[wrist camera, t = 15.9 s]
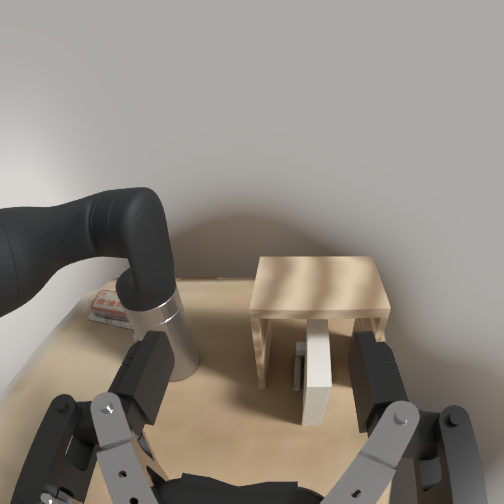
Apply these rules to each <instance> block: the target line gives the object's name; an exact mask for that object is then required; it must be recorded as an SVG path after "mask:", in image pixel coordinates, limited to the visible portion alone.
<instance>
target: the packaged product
mask: <svg viewBox="0 0 504 504" xmlns="http://www.w3.org/2000/svg"><path fill="white" fill-rule="evenodd" d="M91 309H92V312H91V313H90V314H89V316H88V317H87V318H88V319H89V320H92V321H97V322H101V323H105V324H109V325H113V326H117V327H122V328H128V329H132V327H131V324H130V322H129V320H128V318H127V316H126V314H125V312H124V309H123V307H122V305H121V303H120V300H119V298H118V296H117V293H116V292H115V291H108V290H102V291H99V292H98V293H97V295H96V297H95V300H94V301H93V303H92V306H91Z"/></svg>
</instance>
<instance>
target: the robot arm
mask: <svg viewBox="0 0 504 504" xmlns="http://www.w3.org/2000/svg"><path fill="white" fill-rule="evenodd" d="M102 256H103V257H104V256H105V257H118V258H128V261H129V264H130V268H128V269H127V270H126V271H125V272H123V274H122V275H121V276H120V277H119V278H118V280H117V282H116V293H117V296H118V298H119V300H120V303H121V305H122V307H123V309H124V312H125V314H126V316H127V318H128V320H129V322H130V324H131V327H132V329H133V331H134V334H133V337H132V338H133V340H134V342H135V344H134V345H133V346H132V347H131V348H130V349H129V351H128V353H127V355H126V358H125V359H124V360H123V362H122V366H120V368H119V370H118V372H117V374H116V376H115V378H114V380H113V382H112V384H111V386H110V388H109V390H108V392H106V393H102V394H99V395H98V396H96V397H95V398H94V399H93V401H86V402H76V401H75V400H74V399H73V398H72V397H71V396H70V395H67V394H62V395H59V396H57V397H56V398H54V399H53V401H52V402H51V404H50V406H49V408H48V410H47V412H46V414H45V417H44V419H43V421H42V423H41V425H40V427H39V429H38V432H37V434H36V436H35V438H34V441H33V443H32V445H31V448H30V450H29V453H28V455H27V458H26V460H25V463H24V465H23V468H22V470H21V473H20V476H19V479H18V481H17V484H16V487H15V490H14V493H13V496H12V499H11V503H10V504H84V502H85V498H86V495H87V491H88V488H89V484H90V481H91V477H92V474H93V471H94V468H95V464H96V461H97V458H98V462H99V465H100V468H101V471H102V474H103V477H104V480H105V483H106V486H107V488H108V491H109V494H110V496H111V499H112V501H113V504H376V502H377V501H378V500H379V498H380V497H381V495H382V493H383V492H384V490H385V489H386V487H387V486H388V484H389V482H390V481H391V479H392V477H393V475H394V474H395V471H396V466H397V464H398V462H399V460H400V458H413V460H414V468H415V477H416V487H417V499H418V504H488V501H487V494H486V487H485V481H484V475H483V471H482V465H481V460H480V456H479V452H478V447H477V444H476V440H475V436H474V432H473V429H472V425H471V421H470V418H469V415H468V413H467V412H466V410H465V409H463V408H462V407H460V406H456V405H453V406H449V407H447V408H445V409H444V410H443V411H442V412H441V413H436V412H424V411H420V410H418V409H417V408H416V407H415V406H414V405H413V404H412V403H410V402H409V401H408V398H407V395H406V392H405V389H404V386H403V382H402V379H401V376H400V373H399V370H398V367H397V364H396V362H395V358H394V355H393V352H392V350H391V349H390V347H389V346H388V345H387V344H386V343H385V342H376V339H375V336H374V333H373V331H372V330H370V331H358V332H354V335H353V340H352V344H351V349H350V353H349V360H348V365H349V373H350V378H351V383H352V389H353V395H354V401H355V407H356V413H357V419H358V426H359V433H364V432H367V433H368V440H367V442H366V443H365V445H364V446H363V448H362V449H361V451H360V452H359V453H358V455H357V456H356V458H355V459H354V461H353V462H352V463H351V465H350V466H349V467H348V469H347V470H346V472H345V473H344V474H343V476H342V477H341V478H340V479H339V481H338V482H337V483H336V485H335V486H334V487H333V488H332V490H331V491H330V492H329V493H328V494H327V496H326V497H323V496H322V495H320V494H319V493H317V492H315V491H312V490H310V489H307V488H303V487H298V482H264V483H259V484H253V485H246V486H234V485H230V484H227V483H224V482H221V481H219V480H216V479H213V478H210V477H204V476H198V475H191V474H186V473H182V477H181V478H178V479H172V480H169V479H168V477H167V475H166V474H165V472H164V471H163V469H162V468H161V467H160V465H159V463H158V461H157V459H156V457H155V455H154V453H153V451H152V449H151V446H150V444H149V442H148V440H147V437H146V435H145V432H144V431H143V428H144V425H145V424H149V425H154V423H155V420H156V417H157V414H158V411H159V408H160V405H161V403H162V400H163V397H164V394H165V391H166V388H167V385H168V383H169V381H179V380H183V379H185V378H187V377H189V376H191V375H192V374H193V373H194V372H195V371H196V369H197V367H198V365H199V361H200V360H199V355H198V351H197V349H196V346H195V343H194V339H193V336H192V333H191V330H190V327H189V324H188V321H187V318H186V315H185V312H184V308H183V305H182V302H181V299H180V295H179V292H178V289H177V285H176V282H175V278H174V260H173V256H172V251H171V245H170V240H169V235H168V228H167V222H166V218H165V213H164V209H163V206H162V203H161V201H160V199H159V197H158V196H157V194H156V193H155V192H154V191H153V190H151V189H149V188H145V187H137V188H126V189H116V190H107V191H103V192H100V193H97V194H94V195H91V196H87V197H85V198H82V199H79V200H75V201H72V202H68V203H65V204H62V205H58V206H52V207H12V208H3V209H0V317H2V316H4V315H6V314H8V313H10V312H12V311H14V310H15V309H17V308H19V307H21V306H22V305H24V304H25V303H27V302H28V301H29V300H31V299H32V298H33V297H34V296H35V295H36V294H37V293H38V292H39V291H40V290H41V289H42V288H43V287H44V285H45V284H46V283H47V282H48V281H49V279H50V278H51V277H52V276H53V275H54V274H55V273H56V272H57V271H58V270H59V269H61V268H63V267H64V266H66V265H69V264H71V263H74V262H77V261H80V260H84V259H88V258H93V257H102ZM72 436H73V438H72V440H71V443H70V445H69V448H68V451H67V453H66V450H67V447H68V444H69V442H70V439H71V437H72ZM65 453H66V456H65Z"/></svg>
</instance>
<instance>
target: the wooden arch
mask: <svg viewBox="0 0 504 504" xmlns="http://www.w3.org/2000/svg"><path fill="white" fill-rule="evenodd" d="M249 312H250V320H251V328H252V336H253V344H254V351H255V359H256V367H257V374H258V382H259V389H266V382H267V374H268V366H269V358H270V350H271V342H272V330H271V319H352V318H355V322H354V327H353V332H352V336H351V340H353V335H354V332H358V331H370V330H372V331H373V333H374V336H375V339H376V342H381V339H382V336H383V333H384V329H385V326H386V323H387V319H388V316H389V313H390V305H389V302H388V299H387V296H386V293H385V290H384V287H383V285H382V282H381V279H380V276H379V274H378V271H377V269H376V266H375V263H374V261H373V258H372V257H369V256H367V257H366V256H364V257H363V256H362V257H260V261H259V266H258V271H257V275H256V280H255V284H254V289H253V294H252V298H251V303H250V308H249ZM329 346H330V342H329ZM305 347H306V342H296V356H295V371H294V390H300V369H301V361H305ZM330 362H331V361H330ZM331 382H332V380H331Z"/></svg>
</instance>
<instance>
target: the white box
mask: <svg viewBox="0 0 504 504" xmlns="http://www.w3.org/2000/svg"><path fill="white" fill-rule="evenodd" d="M331 387H332V382H331V362H330V346H329V333H328V320H327V319H307V332H306V347H305V361H304V388H303V413H302V426H318V425H322V422H323V418H324V414H325V411H326V407H327V403H328V399H329V396H330V392H331Z"/></svg>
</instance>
